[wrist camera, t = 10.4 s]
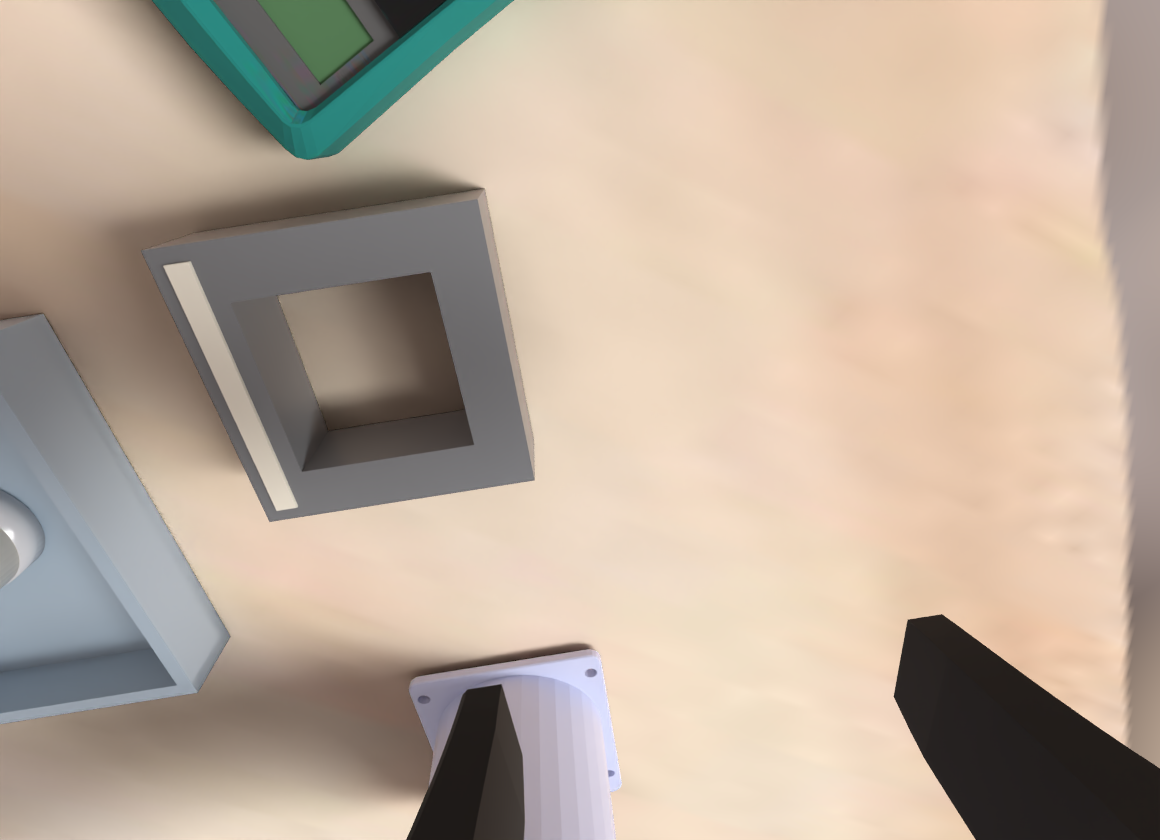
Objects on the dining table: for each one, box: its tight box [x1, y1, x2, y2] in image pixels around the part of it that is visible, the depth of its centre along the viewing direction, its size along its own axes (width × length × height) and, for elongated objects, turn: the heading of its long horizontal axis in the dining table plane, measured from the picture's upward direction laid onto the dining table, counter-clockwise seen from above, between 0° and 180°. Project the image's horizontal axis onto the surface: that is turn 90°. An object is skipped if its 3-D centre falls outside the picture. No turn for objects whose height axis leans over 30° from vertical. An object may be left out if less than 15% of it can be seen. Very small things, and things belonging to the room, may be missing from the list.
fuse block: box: [141, 189, 535, 522], centre depth 17 cm, size 8×8×3 cm
